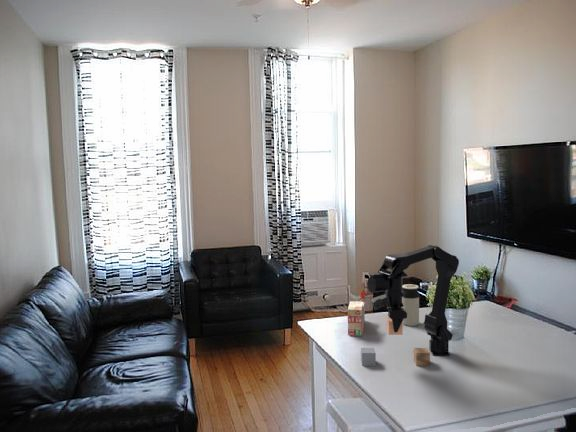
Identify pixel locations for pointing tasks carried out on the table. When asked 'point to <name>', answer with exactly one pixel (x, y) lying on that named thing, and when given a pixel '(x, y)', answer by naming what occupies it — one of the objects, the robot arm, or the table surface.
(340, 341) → the table surface
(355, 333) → the stack of blocks
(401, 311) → the robot arm
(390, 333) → the terracotta cube
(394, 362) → the table surface
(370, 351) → the grey cube
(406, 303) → the travel mug
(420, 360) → the walnut cube
